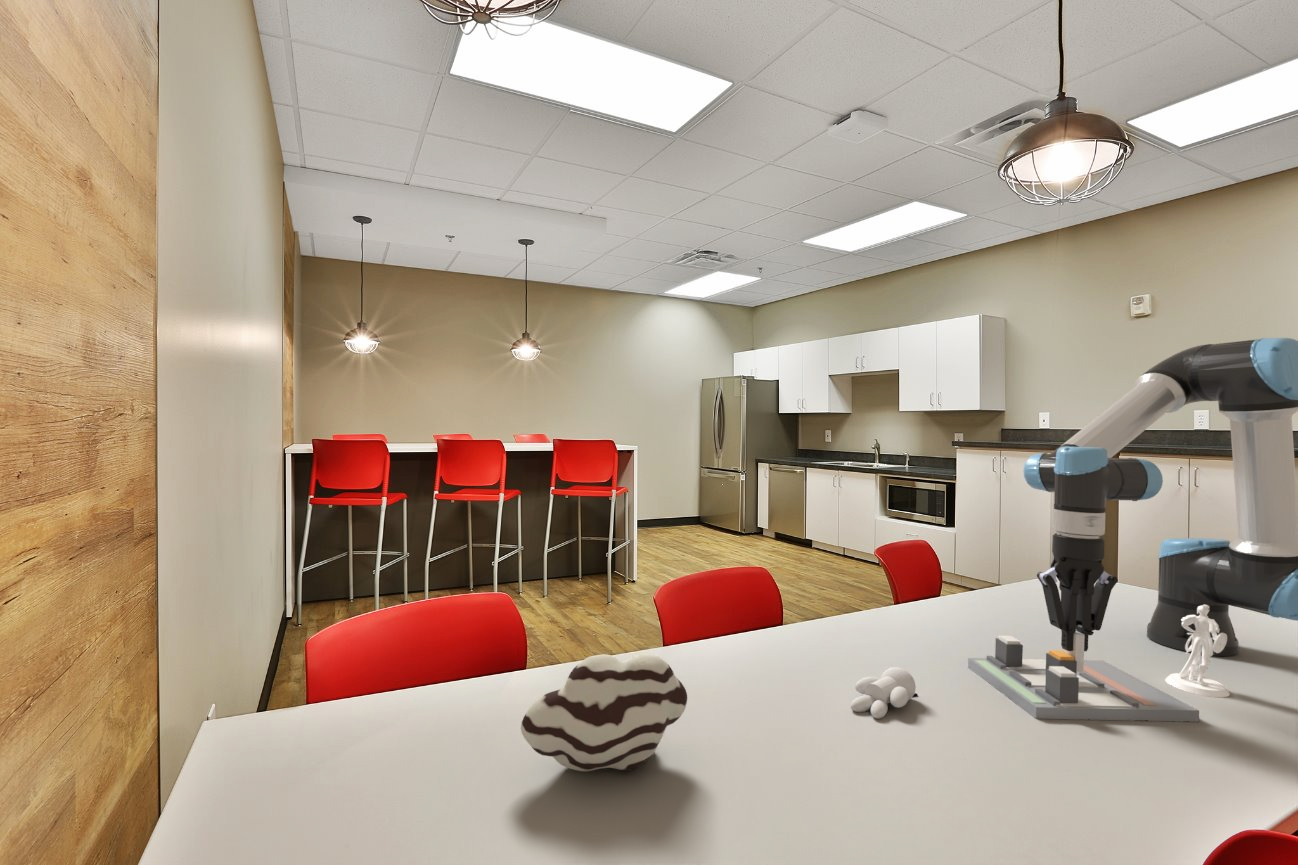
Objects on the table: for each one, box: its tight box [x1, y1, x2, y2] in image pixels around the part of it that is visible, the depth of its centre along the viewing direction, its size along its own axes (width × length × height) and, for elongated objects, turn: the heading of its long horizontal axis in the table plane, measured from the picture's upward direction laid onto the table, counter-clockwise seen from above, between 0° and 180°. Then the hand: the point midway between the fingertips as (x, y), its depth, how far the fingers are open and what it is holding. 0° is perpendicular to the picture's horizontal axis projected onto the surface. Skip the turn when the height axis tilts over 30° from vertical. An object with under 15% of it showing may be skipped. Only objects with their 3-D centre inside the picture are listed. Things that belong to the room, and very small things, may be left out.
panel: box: [967, 655, 1200, 723], centre depth 110 cm, size 26×21×2 cm
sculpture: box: [520, 653, 688, 772], centre depth 82 cm, size 22×12×15 cm, turn 106°
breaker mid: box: [1045, 649, 1077, 674], centre depth 110 cm, size 3×4×5 cm
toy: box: [850, 666, 918, 720], centre depth 104 cm, size 8×6×15 cm
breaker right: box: [1045, 666, 1079, 703], centre depth 102 cm, size 3×4×5 cm
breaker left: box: [994, 635, 1024, 667], centre depth 117 cm, size 3×4×5 cm
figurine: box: [1165, 605, 1231, 698], centre depth 114 cm, size 9×9×15 cm
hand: (1073, 668), depth 110 cm, fingers closed
